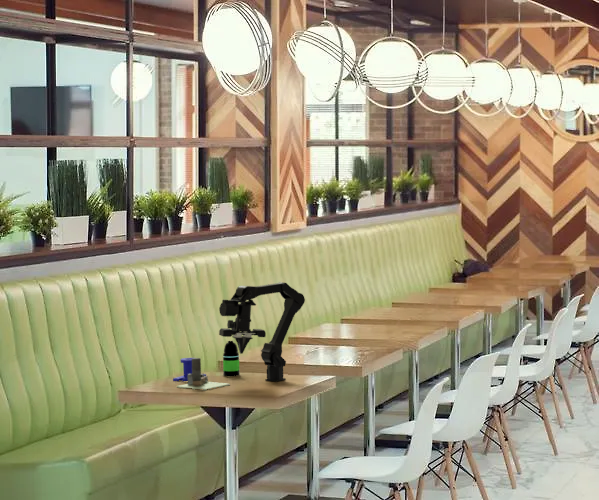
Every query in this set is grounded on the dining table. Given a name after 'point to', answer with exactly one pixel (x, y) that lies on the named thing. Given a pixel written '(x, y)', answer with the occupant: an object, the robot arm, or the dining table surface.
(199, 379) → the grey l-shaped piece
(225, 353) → the bottle
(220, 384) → the plate
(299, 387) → the dining table surface
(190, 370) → the mount
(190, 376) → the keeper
